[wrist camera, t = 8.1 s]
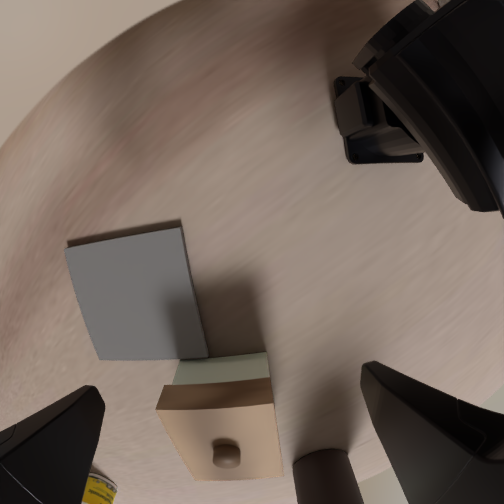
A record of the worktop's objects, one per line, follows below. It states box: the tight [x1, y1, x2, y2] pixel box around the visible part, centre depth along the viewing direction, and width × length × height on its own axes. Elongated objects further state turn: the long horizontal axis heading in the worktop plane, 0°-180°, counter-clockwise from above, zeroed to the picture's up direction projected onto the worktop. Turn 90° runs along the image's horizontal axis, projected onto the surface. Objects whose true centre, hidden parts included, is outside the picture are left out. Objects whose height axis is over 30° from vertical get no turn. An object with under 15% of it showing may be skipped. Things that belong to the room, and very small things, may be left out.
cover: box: [155, 377, 284, 481], centre depth 16 cm, size 7×9×4 cm
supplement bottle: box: [81, 473, 117, 504], centre depth 22 cm, size 5×5×10 cm
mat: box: [64, 227, 209, 360], centre depth 19 cm, size 10×10×1 cm
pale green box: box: [172, 352, 270, 385], centre depth 19 cm, size 7×7×4 cm
